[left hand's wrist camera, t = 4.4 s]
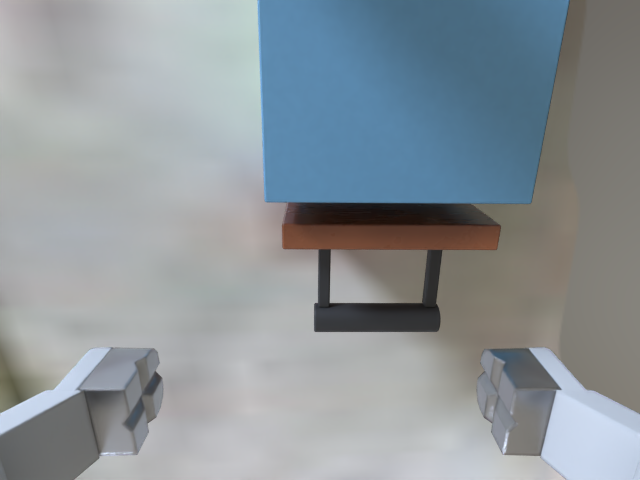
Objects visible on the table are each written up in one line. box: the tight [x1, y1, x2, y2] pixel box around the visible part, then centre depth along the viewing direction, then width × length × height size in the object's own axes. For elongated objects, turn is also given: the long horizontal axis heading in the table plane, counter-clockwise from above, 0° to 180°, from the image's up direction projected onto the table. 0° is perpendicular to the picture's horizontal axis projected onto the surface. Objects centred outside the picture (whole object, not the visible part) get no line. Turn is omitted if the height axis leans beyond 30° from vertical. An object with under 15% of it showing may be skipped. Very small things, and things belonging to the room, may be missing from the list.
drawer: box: [282, 202, 501, 332], centre depth 20 cm, size 24×10×8 cm, turn 179°
